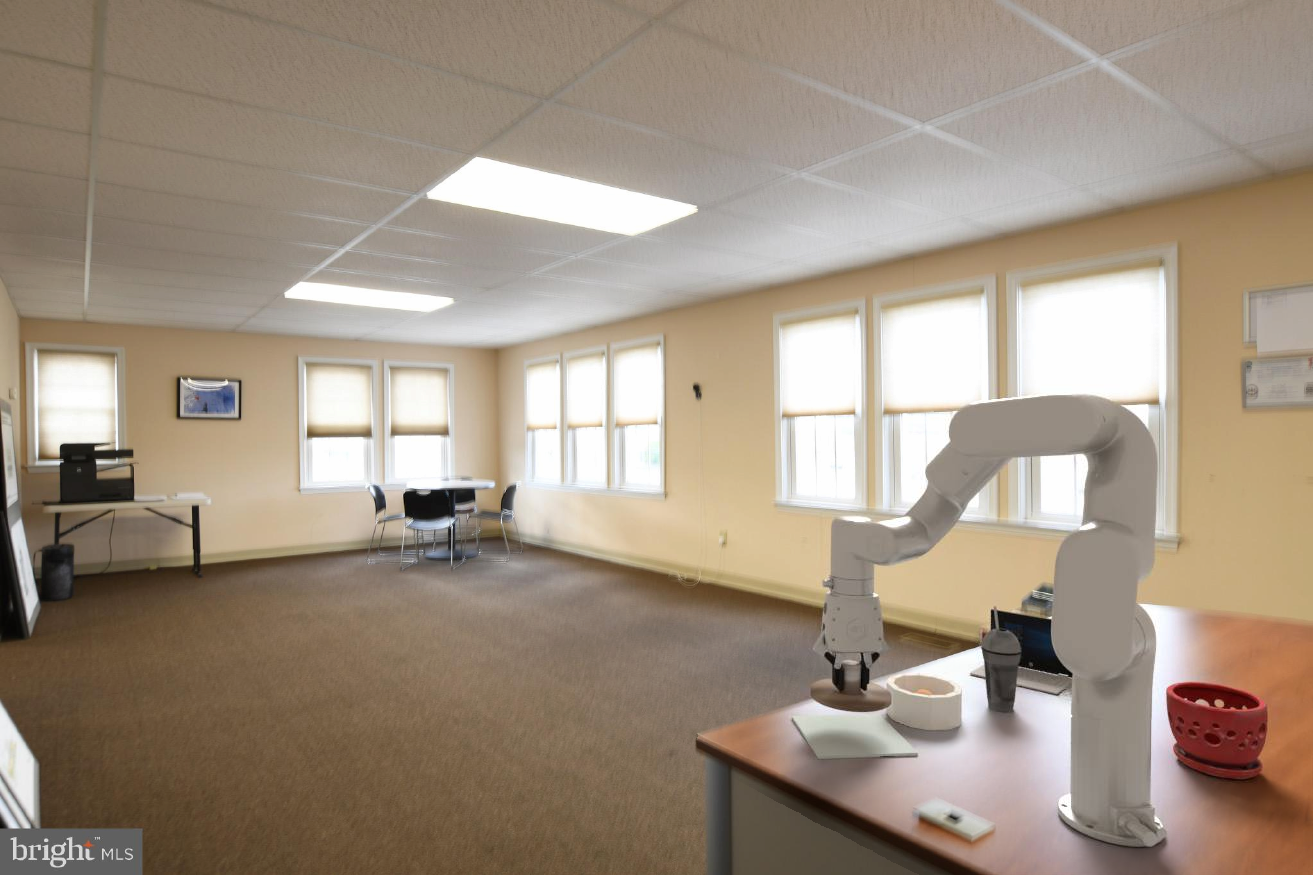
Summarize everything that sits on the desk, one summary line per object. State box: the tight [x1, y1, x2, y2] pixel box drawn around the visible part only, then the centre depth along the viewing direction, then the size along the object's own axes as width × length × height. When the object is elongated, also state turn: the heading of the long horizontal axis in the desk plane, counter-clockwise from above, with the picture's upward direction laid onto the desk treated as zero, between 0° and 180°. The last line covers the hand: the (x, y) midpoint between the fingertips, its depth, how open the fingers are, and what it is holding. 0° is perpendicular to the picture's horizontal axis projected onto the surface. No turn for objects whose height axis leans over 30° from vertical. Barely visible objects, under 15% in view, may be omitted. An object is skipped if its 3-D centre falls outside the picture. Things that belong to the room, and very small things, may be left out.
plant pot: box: [1165, 681, 1269, 781], centre depth 120 cm, size 13×13×12 cm
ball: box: [915, 690, 932, 695], centre depth 141 cm, size 4×4×4 cm
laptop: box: [969, 608, 1073, 695], centre depth 163 cm, size 18×12×13 cm
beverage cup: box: [980, 605, 1022, 713], centre depth 145 cm, size 7×7×20 cm
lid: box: [809, 659, 891, 713], centre depth 132 cm, size 14×14×6 cm
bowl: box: [886, 672, 963, 731], centre depth 141 cm, size 13×13×6 cm
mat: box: [791, 713, 919, 760], centre depth 132 cm, size 17×17×1 cm
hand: (850, 687), depth 132 cm, fingers closed on lid, 3 cm apart
